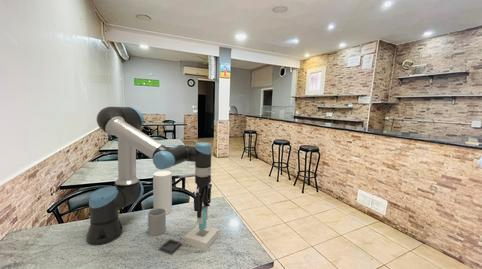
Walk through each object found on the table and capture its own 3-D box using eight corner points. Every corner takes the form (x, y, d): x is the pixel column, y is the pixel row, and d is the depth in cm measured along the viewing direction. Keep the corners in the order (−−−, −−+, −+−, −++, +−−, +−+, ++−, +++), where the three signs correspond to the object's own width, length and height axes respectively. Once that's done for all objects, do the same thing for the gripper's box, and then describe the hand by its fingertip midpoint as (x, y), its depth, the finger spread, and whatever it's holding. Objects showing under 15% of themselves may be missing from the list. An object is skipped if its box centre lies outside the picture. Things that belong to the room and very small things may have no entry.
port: (184, 244, 97) (184, 236, 97) (198, 230, 108) (198, 223, 108) (206, 251, 93) (206, 243, 92) (218, 236, 104) (218, 229, 103)
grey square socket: (157, 251, 92) (157, 247, 91) (169, 241, 99) (169, 237, 99) (171, 256, 89) (171, 252, 88) (183, 245, 96) (183, 241, 96)
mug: (161, 236, 102) (161, 216, 101) (145, 236, 102) (144, 215, 101) (170, 223, 114) (170, 205, 113) (155, 223, 114) (155, 204, 113)
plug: (197, 228, 99) (197, 209, 97) (201, 224, 102) (201, 205, 101) (203, 230, 97) (203, 210, 96) (207, 226, 101) (207, 207, 99)
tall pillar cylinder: (159, 206, 133) (158, 170, 130) (174, 208, 132) (174, 171, 129) (150, 215, 122) (149, 175, 120) (167, 216, 121) (166, 176, 119)
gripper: (200, 181, 88) (199, 231, 90) (218, 171, 103) (217, 214, 106) (185, 178, 90) (185, 227, 93) (205, 169, 106) (204, 211, 108)
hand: (202, 220), depth 99 cm, fingers closed on plug, 4 cm apart
